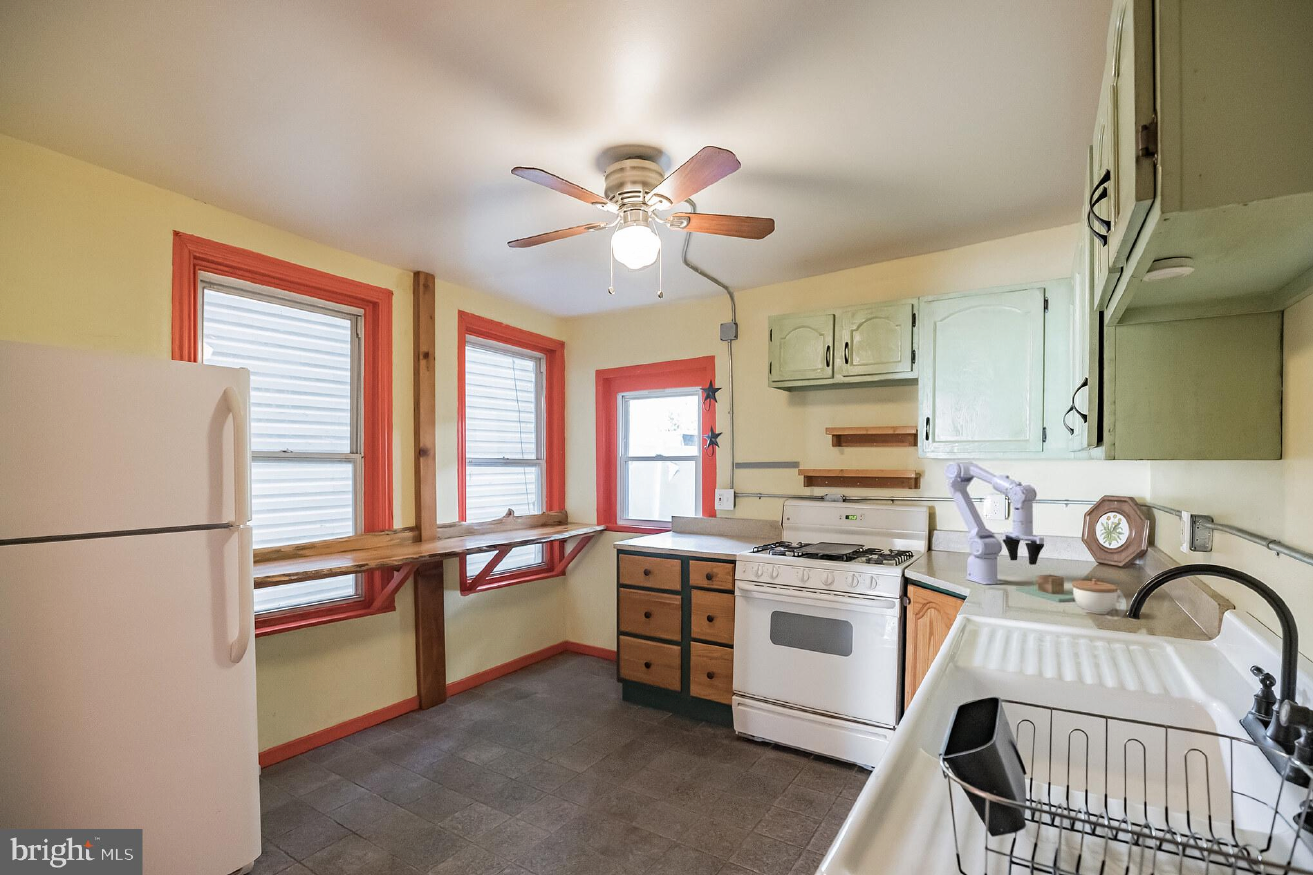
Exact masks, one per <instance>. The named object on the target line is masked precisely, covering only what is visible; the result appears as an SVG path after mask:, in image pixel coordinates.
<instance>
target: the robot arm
mask: <svg viewBox="0 0 1313 875" xmlns="http://www.w3.org/2000/svg"><path fill="white" fill-rule="evenodd" d="M943 474H944V476H945V478H946V480H947V485H948V491H949V493H950V494H951V497H952V499H953V500H954V503H955V505H956V508H957V509H958V511H959V513H960V515H961V517H962V520H963V521H964V524H965V525H966V527H967V529H968V532H969V535H968V536H967V538H966V540H967V542H968V548H969V551H970V553H971V554H972V555H970V556H969V557H968V559H967V562H966V565H967V567H966V569H967V570H966V571H967V575H966V577H965V580H968V581H972V582H974V583H978V584H982V585H997V584H998V585H999V584H1004V581H1001V580H999V579H998V557H999V555H1000V554H1001V552H1002V550H1003V545H1002V544H1003V543H1004V546H1005V547H1006V550H1007V552H1008V553H1007V554H1008V556H1009V560H1010V561H1017V560H1018V554H1019V546H1020V543H1021V541H1023V542H1025V544H1024V545H1025V546H1026V549H1027V555H1028V556H1027V557H1028V564H1029V565H1030V566H1035V565H1036V566H1037V564H1038V559H1039V557H1040V554H1041V551H1042V549H1043V548H1044V547H1045V537H1042V536H1038V535H1036V534H1034V517H1033V516H1034V513H1033V512H1034V511H1033V509H1034V508H1033V505H1034V504H1033V503H1034V501H1035V500H1036V499H1037V495H1038V494H1037V490H1036V489H1035V487H1034V486H1032V485H1031V484H1024V485H1023V484H1022V482H1021V481H1016V480H1014V479H1012V478H1010V475H1008V474H1001V475H996V474H994V473H992V472H990V471H988V470H987V469H985V468H983V467H982V466H980V465H979V464H977V463H974V462H972V461H965V462H964V461H963V462H962V461H958V462H957V461H951V462H948V463H947V464H946V466H945V468H944V472H943ZM974 478H976V479H978V480H980V481H983V482H986V483H988V484H990V485H991V486H992V489H993V490H995V491H996V492H998V493H1000V494H1003V495H1004V496H1006V497H1008V498H1009V500H1010V502H1011V506H1012V531H1002V537H1003V538H1004V539H1002V542H1003V543H1002V542H1001V540H1000V539H999V538H998V537H997V536H996V535H995V533H994V532H993V531H992V530H990V529H988V528H987V527H986V525H985V524H984V521H983V519H982V517H981V516H980V514H979V512H978V509H977V507H976V506H975V504H974V501H973V499H972V498H971V495H970V494H969V492H968V490H967V489H968V486H970V484H971V483H972V481H973V480H974Z"/></svg>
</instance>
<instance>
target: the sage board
mask: <svg viewBox="0 0 1313 875" xmlns="http://www.w3.org/2000/svg"><path fill="white" fill-rule="evenodd" d="M1015 591H1017V592H1020V593H1024V594H1028V595H1031V596H1035V597H1039V598H1042V599H1046V600H1049V601H1053V602H1056V603H1064V602H1065V603H1067V602H1076V601H1075V599H1074V595H1073V591H1068V590H1065V589H1064V593H1060V594H1049V593H1045V592H1041V591H1038V585H1032V586H1017V587H1015Z"/></svg>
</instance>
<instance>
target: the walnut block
mask: <svg viewBox="0 0 1313 875" xmlns="http://www.w3.org/2000/svg"><path fill="white" fill-rule="evenodd" d="M1064 579H1065V578H1064V577H1063V576H1058V575H1055V574H1049V573H1048V574H1038V575H1037V586H1038V591H1041V592H1045V593H1049V594H1060V593H1064V590H1065V580H1064Z"/></svg>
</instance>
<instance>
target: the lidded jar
mask: <svg viewBox="0 0 1313 875" xmlns="http://www.w3.org/2000/svg"><path fill="white" fill-rule="evenodd" d="M1118 589H1119V588H1118V586H1116V585H1115V584H1112V583H1111V584H1110V583H1107V582H1101V581H1098V579H1097V578H1092V580H1091V581H1090V580H1075V581H1073V582H1072V592H1073V595H1074V599H1075V601H1074V602H1075V603H1076V604H1077V605H1078V606H1079V608H1081V609H1082V611H1083V612H1086V613H1088V614H1095V615H1108V614H1109V613H1110V612H1111V611H1112V610H1113V609H1114V608H1115V606H1116V605H1117V600H1118Z"/></svg>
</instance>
